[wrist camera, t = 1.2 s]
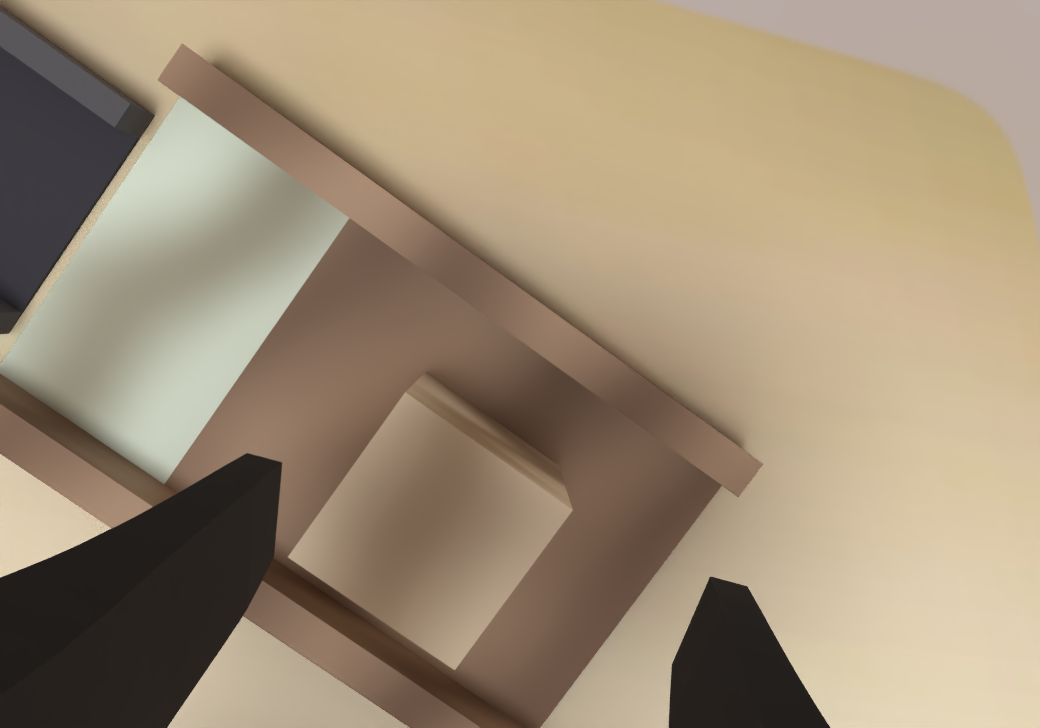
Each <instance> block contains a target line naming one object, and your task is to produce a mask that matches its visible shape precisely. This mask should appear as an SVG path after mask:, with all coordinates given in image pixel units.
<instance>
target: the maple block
mask: <svg viewBox="0 0 1040 728" xmlns="http://www.w3.org/2000/svg"><path fill="white" fill-rule="evenodd" d="M572 511H573V509H572V506H571V503H570V499H569V496H568V493H567V490H566V487H565V484H564V481H563V477H562V474H561V471H560V468H559V465H557V464H556V463H554V462H553V461H552V460H550V459H549V458H547V457H546V456H545V455H543V454H542V453H540V452H539V451H538V450H536V449H535V448H533V447H532V446H530V445H529V444H528V443H526V442H525V441H523V440H522V439H521V438H519V437H518V436H516V435H515V434H513V433H512V432H511V431H509V430H508V429H506V428H505V427H504V426H502V425H501V424H499V423H498V422H497V421H495V420H494V419H492V418H491V417H489V416H488V415H487V414H485V413H484V412H482V411H481V410H480V409H478V408H477V407H475V406H474V405H472V404H471V403H470V402H468V401H467V400H465V399H464V398H463V397H461V396H460V395H458V394H457V393H456V392H454V391H453V390H451V389H450V388H448V387H447V386H446V385H444V384H443V383H441V382H440V381H439V380H437V379H436V378H434V377H433V376H432V375H430V374H429V373H427V372H425V373H424V374H423V375H422V376H421V377H420V378H419V379H418V380H417V381H416V382H415V383H414V384H413V385H412V386H411V387H410V388H409V389H408V390H407V391H406V392H405V393H404V395H403V396H402V397H401V399H400V400H399V402H398V403H397V404H396V406H395V407H394V409H393V410H392V411H391V413H390V414H389V416H388V417H387V418H386V420H385V421H384V423H383V424H382V425H381V427H380V428H379V430H378V431H377V433H376V434H375V435H374V437H373V438H372V440H371V441H370V442H369V444H368V445H367V447H366V448H365V449H364V451H363V452H362V454H361V455H360V456H359V458H358V459H357V461H356V462H355V463H354V465H353V466H352V468H351V469H350V470H349V472H348V473H347V475H346V476H345V477H344V479H343V480H342V482H341V483H340V484H339V486H338V487H337V489H336V490H335V491H334V493H333V494H332V496H331V497H330V498H329V500H328V501H327V503H326V504H325V505H324V507H323V508H322V510H321V511H320V512H319V514H318V515H317V517H316V518H315V519H314V521H313V522H312V524H311V525H310V526H309V528H308V529H307V531H306V532H305V534H304V535H303V536H302V538H301V539H300V541H299V542H298V543H297V545H296V546H295V548H294V549H293V550H292V552H291V553H290V555H289V556H288V558H290V559H291V560H293V561H294V562H295V563H297V564H298V565H300V566H301V567H303V568H304V569H306V570H307V571H309V572H310V573H312V574H313V575H315V576H316V577H318V578H319V579H321V580H322V581H324V582H325V583H326V584H328V585H329V586H331V587H332V588H334V589H335V590H337V591H338V592H340V593H341V594H343V595H344V596H346V597H347V598H349V599H350V600H352V601H353V602H355V603H356V604H357V605H359V606H360V607H362V608H363V609H365V610H366V611H368V612H369V613H371V614H372V615H374V616H375V617H377V618H378V619H380V620H381V621H383V622H384V623H386V624H387V625H388V626H390V627H391V628H393V629H394V630H396V631H397V632H399V633H400V634H402V635H403V636H405V637H406V638H408V639H409V640H411V641H412V642H414V643H415V644H417V645H418V646H419V647H421V648H422V649H424V650H425V651H427V652H428V653H430V654H431V655H433V656H434V657H436V658H437V659H439V660H440V661H442V662H443V663H445V664H446V665H447V666H449V667H450V668H452V669H453V670H455V669H456V668H457V667H458V665H459V664H460V663H461V661H462V660H463V658H464V657H465V656H466V654H467V653H468V652H469V650H470V649H471V648H472V646H473V645H474V644H475V642H476V641H477V639H478V638H479V637H480V635H481V634H482V633H483V631H484V630H485V629H486V627H487V626H488V625H489V623H490V622H491V620H492V619H493V618H494V616H495V615H496V614H497V612H498V611H499V610H500V608H501V607H502V606H503V604H504V603H505V601H506V600H507V599H508V597H509V596H510V595H511V593H512V592H513V591H514V589H515V588H516V587H517V585H518V584H519V583H520V581H521V580H522V578H523V577H524V576H525V574H526V573H527V572H528V570H529V569H530V568H531V566H532V565H533V564H534V562H535V561H536V559H537V558H538V557H539V555H540V554H541V553H542V551H543V550H544V549H545V547H546V546H547V545H548V543H549V542H550V540H551V539H552V538H553V536H554V535H555V534H556V532H557V531H558V530H559V528H560V527H561V526H562V524H563V523H564V521H565V520H566V519H567V517H568V516H569V515H570V513H571V512H572Z"/></svg>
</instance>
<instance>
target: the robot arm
mask: <svg viewBox="0 0 1040 728" xmlns="http://www.w3.org/2000/svg"><path fill="white" fill-rule="evenodd" d="M281 473H282V462H279V461H276V460H272V459H268V458H264V457H261V456H257V455H253V454H249V453H246V454H244V455H243V456H241V457H239V458H237V459H235V460H234V461H232V462H230V463H228V464H226V465H225V466H223V467H221V468H220V469H218V470H216V471H214V472H213V473H211V474H209V475H208V476H206V477H204V478H203V479H201V480H199V481H197V482H196V483H194V484H192V485H191V486H189V487H187V488H185V489H184V490H182V491H180V492H179V493H177V494H175V495H173V496H171V497H170V498H168V499H166V500H164V501H162V502H161V503H159V504H157V505H155V506H153V507H152V508H150V509H148V510H146V511H144V512H143V513H141V514H139V515H137V516H135V517H134V518H132V519H130V520H128V521H126V522H124V523H122V524H120V525H118V526H116V527H114V528H112V529H110V530H108V531H106V532H104V533H102V534H100V535H98V536H96V537H94V538H92V539H90V540H88V541H86V542H84V543H82V544H80V545H78V546H75V547H73V548H71V549H69V550H67V551H64V552H62V553H60V554H57V555H55V556H53V557H51V558H48V559H46V560H43V561H41V562H38V563H36V564H34V565H31V566H29V567H26V568H24V569H21V570H19V571H16V572H14V573H11V574H9V575H6V576H3V577H1V578H0V728H167V727H168V725H169V724H170V722H171V721H172V719H173V718H174V717H175V715H176V714H177V712H178V711H179V709H180V708H181V706H182V705H183V703H184V702H185V700H186V699H187V697H188V696H189V695H190V693H191V692H192V690H193V689H194V687H195V686H196V684H197V683H198V681H199V680H200V678H201V677H202V676H203V674H204V673H205V671H206V670H207V668H208V667H209V665H210V664H211V662H212V661H213V659H214V658H215V657H216V655H217V654H218V652H219V651H220V649H221V648H222V646H223V645H224V643H225V642H226V640H227V639H228V637H229V636H230V634H231V633H232V631H233V630H234V628H235V627H236V625H237V624H238V623H239V621H240V619H241V618H242V616H243V615H244V613H245V612H246V610H247V609H248V607H249V605H250V603H251V601H252V599H253V597H254V595H255V593H256V592H257V590H258V588H259V586H260V584H261V582H262V580H263V578H264V576H265V574H266V572H267V570H268V568H269V566H270V564H271V562H272V560H273V558H274V552H275V541H276V529H277V518H278V507H279V496H280V484H281ZM669 728H830V726H829V725H828V724H827V722H826V720H825V719H824V717H823V716H822V714H821V713H820V711H819V709H818V708H817V706H816V705H815V703H814V702H813V700H812V698H811V697H810V695H809V693H808V692H807V690H806V688H805V687H804V685H803V683H802V682H801V680H800V679H799V677H798V675H797V674H796V672H795V670H794V668H793V667H792V665H791V663H790V662H789V660H788V658H787V656H786V655H785V653H784V651H783V649H782V647H781V646H780V644H779V642H778V640H777V639H776V637H775V635H774V633H773V631H772V630H771V628H770V626H769V624H768V622H767V621H766V619H765V617H764V615H763V613H762V612H761V610H760V608H759V606H758V605H757V603H756V601H755V599H754V597H753V596H752V594H751V592H750V590H749V589H748V587H747V586H744V585H740V584H736V583H732V582H729V581H725V580H721V579H718V578H714V577H710V578H709V581H708V583H707V585H706V588H705V590H704V592H703V594H702V597H701V599H700V601H699V604H698V606H697V608H696V611H695V613H694V615H693V617H692V620H691V622H690V624H689V627H688V629H687V631H686V633H685V636H684V638H683V640H682V643H681V645H680V647H679V650H678V652H677V654H676V656H675V659H674V661H673V663H672V673H671V690H670V710H669Z"/></svg>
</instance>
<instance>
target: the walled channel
mask: <svg viewBox="0 0 1040 728" xmlns="http://www.w3.org/2000/svg"><path fill="white" fill-rule="evenodd" d="M158 81H160V82H161V83H162V84H164V85H165V86H167V87H168V88H169V89H171V90H172V91H174V92H175V93H176V94H178V95H179V96H180V98H179V99H178V101H177V102H176V104H175V105H174V107H173V108H172V110H171V111H170V113H169V114H168V116H167V117H166V119H165V120H164V122H163V123H162V125H161V126H160V128H159V129H158V131H157V132H156V134H155V135H154V137H153V138H152V140H151V141H150V143H149V144H148V146H147V147H146V148H145V150H144V151H143V153H142V154H141V156H140V157H139V159H138V160H137V162H136V163H135V165H134V166H133V168H132V169H131V171H130V172H129V174H128V175H127V177H126V178H125V180H124V181H123V183H122V184H121V186H120V187H119V189H118V190H117V192H116V193H115V195H114V196H113V198H112V199H111V201H110V202H109V204H108V205H107V207H106V208H105V209H104V211H103V212H102V214H101V215H100V217H99V218H98V220H97V221H96V223H95V224H94V226H93V227H92V229H91V230H90V232H89V233H88V235H87V236H86V238H85V239H84V241H83V242H82V244H81V245H80V247H79V248H78V250H77V251H76V253H75V254H74V256H73V257H72V259H71V260H70V262H69V263H68V265H67V266H66V268H65V269H64V270H63V272H62V273H61V275H60V276H59V278H58V279H57V281H56V282H55V284H54V285H53V287H52V288H51V290H50V291H49V293H48V294H47V296H46V297H45V299H44V300H43V302H42V303H41V305H40V306H39V308H38V309H37V311H36V312H35V314H34V315H33V317H32V318H31V320H30V321H29V323H28V324H27V326H26V327H25V329H24V330H23V331H22V333H21V334H20V336H19V337H18V339H17V340H16V342H15V343H14V345H13V346H12V348H11V349H10V351H9V352H8V354H7V355H6V357H5V358H4V360H3V361H2V363H1V364H0V454H2V455H3V456H5V457H6V458H8V459H9V460H11V461H12V462H14V463H15V464H16V465H18V466H19V467H21V468H22V469H24V470H25V471H27V472H28V473H30V474H31V475H33V476H34V477H36V478H37V479H39V480H40V481H42V482H43V483H45V484H46V485H48V486H49V487H51V488H52V489H54V490H55V491H57V492H58V493H60V494H61V495H63V496H64V497H66V498H67V499H69V500H70V501H72V502H73V503H75V504H76V505H78V506H79V507H81V508H82V509H84V510H85V511H87V512H88V513H90V514H91V515H93V516H94V517H96V518H97V519H99V520H100V521H102V522H103V523H105V524H106V525H108V526H109V527H111V528H114V527H116V526H118V525H120V524H122V523H124V522H126V521H128V520H130V519H132V518H134V517H135V516H137V515H139V514H141V513H143V512H144V511H146V510H148V509H150V508H152V507H153V506H155V505H157V504H159V503H161V502H162V501H164V500H166V499H168V498H170V497H171V496H173V495H175V494H177V493H179V492H180V491H182V490H184V489H185V488H187V487H189V486H191V485H192V484H194V483H196V482H197V481H199V480H201V479H203V478H204V477H206V476H208V475H209V474H211V473H213V472H214V471H216V470H218V469H220V468H221V467H223V466H225V465H226V464H228V463H230V462H232V461H234V460H235V459H237V458H239V457H241V456H243V455H244V454H246V453H249V454H253V455H257V456H261V457H264V458H268V459H272V460H276V461H279V462H282V473H281V484H280V496H279V507H278V518H277V529H276V541H275V552H274V558H273V560H272V562H271V564H270V566H269V568H268V570H267V572H266V574H265V576H264V578H263V580H262V582H261V584H260V586H259V588H258V590H257V592H256V593H255V595H254V597H253V599H252V601H251V603H250V605H249V607H248V609H247V610H246V612H245V613H244V615H243V616H244V617H245V618H247V619H248V620H250V621H251V622H253V623H254V624H256V625H257V626H259V627H260V628H262V629H263V630H265V631H266V632H268V633H269V634H271V635H272V636H274V637H275V638H277V639H278V640H280V641H281V642H283V643H284V644H286V645H287V646H289V647H290V648H292V649H293V650H295V651H296V652H298V653H299V654H301V655H302V656H304V657H305V658H307V659H308V660H310V661H311V662H313V663H314V664H316V665H317V666H319V667H320V668H322V669H323V670H325V671H326V672H328V673H329V674H331V675H332V676H334V677H335V678H337V679H338V680H340V681H341V682H343V683H344V684H346V685H347V686H349V687H350V688H352V689H353V690H355V691H356V692H358V693H359V694H361V695H362V696H364V697H365V698H367V699H368V700H370V701H371V702H373V703H374V704H376V705H377V706H379V707H380V708H382V709H383V710H385V711H386V712H388V713H389V714H391V715H392V716H394V717H395V718H397V719H398V720H400V721H401V722H403V723H404V724H406V725H407V726H409V727H410V728H540V727H541V726H542V724H543V723H544V722H545V720H546V719H547V718H548V716H549V715H550V714H551V712H552V711H553V710H554V708H555V707H556V706H557V704H558V703H559V702H560V700H561V699H562V698H563V696H564V695H565V694H566V692H567V691H568V690H569V688H570V687H571V686H572V684H573V683H574V682H575V680H576V679H577V678H578V676H579V675H580V674H581V672H582V671H583V670H584V668H585V667H586V666H587V664H588V663H589V662H590V660H591V659H592V658H593V656H594V655H595V654H596V652H597V651H598V650H599V648H600V647H601V646H602V644H603V643H604V642H605V640H606V639H607V638H608V636H609V635H610V634H611V632H612V631H613V630H614V628H615V627H616V626H617V624H618V623H619V622H620V620H621V619H622V618H623V616H624V615H625V614H626V612H627V611H628V610H629V608H630V607H631V606H632V604H633V603H634V602H635V600H636V599H637V598H638V596H639V595H640V594H641V592H642V591H643V590H644V588H645V587H646V586H647V584H648V583H649V582H650V580H651V579H652V578H653V576H654V575H655V574H656V572H657V571H658V570H659V568H660V567H661V566H662V564H663V563H664V562H665V560H666V559H667V558H668V556H669V555H670V554H671V552H672V551H673V550H674V548H675V547H676V546H677V544H678V543H679V542H680V540H681V539H682V538H683V536H684V535H685V534H686V532H687V531H688V530H689V528H690V527H691V526H692V524H693V523H694V522H695V520H696V519H697V518H698V516H699V515H700V514H701V512H702V511H703V510H704V508H705V507H706V506H707V504H708V503H709V502H710V500H711V499H712V498H713V496H714V495H715V494H716V492H717V491H718V490H719V488H720V487H721V486H724V487H725V488H726V489H728V490H729V491H730V492H732V493H733V494H735V495H736V496H737V497H739V496H740V494H741V493H742V492H743V490H744V489H745V488H746V486H747V485H748V484H749V482H750V481H751V480H752V478H753V477H754V476H755V474H756V473H757V472H758V470H759V469H760V468H761V466H762V465H763V463H761V462H760V461H758V460H757V459H756V458H754V457H753V456H751V455H750V454H749V453H747V452H746V451H745V450H743V449H742V448H740V447H739V446H738V445H736V444H735V443H734V442H732V441H731V440H729V439H728V438H727V437H725V436H724V435H722V434H721V433H720V432H718V431H717V430H716V429H714V428H713V427H711V426H710V425H709V424H707V423H706V422H705V421H703V420H702V419H700V418H699V417H698V416H696V415H695V414H693V413H692V412H691V411H689V410H688V409H687V408H685V407H684V406H682V405H681V404H680V403H678V402H677V401H676V400H674V399H673V398H671V397H670V396H669V395H667V394H666V393H664V392H663V391H662V390H660V389H659V388H658V387H656V386H655V385H653V384H652V383H651V382H649V381H648V380H647V379H645V378H644V377H642V376H641V375H640V374H638V373H637V372H635V371H634V370H633V369H631V368H630V367H629V366H627V365H626V364H624V363H623V362H622V361H620V360H619V359H617V358H616V357H615V356H613V355H612V354H611V353H609V352H608V351H606V350H605V349H604V348H602V347H601V346H600V345H598V344H597V343H595V342H594V341H593V340H591V339H590V338H588V337H587V336H586V335H584V334H583V333H582V332H580V331H579V330H577V329H576V328H575V327H573V326H572V325H571V324H569V323H568V322H566V321H565V320H564V319H562V318H561V317H559V316H558V315H557V314H555V313H554V312H553V311H551V310H550V309H548V308H547V307H546V306H544V305H543V304H542V303H540V302H539V301H537V300H536V299H535V298H533V297H532V296H530V295H529V294H528V293H526V292H525V291H524V290H522V289H521V288H519V287H518V286H517V285H515V284H514V283H512V282H511V281H510V280H508V279H507V278H506V277H504V276H503V275H501V274H500V273H499V272H497V271H496V270H495V269H493V268H492V267H490V266H489V265H488V264H486V263H485V262H483V261H482V260H481V259H479V258H478V257H477V256H475V255H474V254H472V253H471V252H470V251H468V250H467V249H466V248H464V247H463V246H461V245H460V244H459V243H457V242H456V241H454V240H453V239H452V238H450V237H449V236H448V235H446V234H445V233H443V232H442V231H441V230H439V229H438V228H437V227H435V226H434V225H432V224H431V223H430V222H428V221H427V220H425V219H424V218H423V217H421V216H420V215H419V214H417V213H416V212H414V211H413V210H412V209H410V208H409V207H408V206H406V205H405V204H403V203H402V202H401V201H399V200H398V199H396V198H395V197H394V196H392V195H391V194H390V193H388V192H387V191H385V190H384V189H383V188H381V187H380V186H378V185H377V184H376V183H374V182H373V181H372V180H370V179H369V178H367V177H366V176H365V175H363V174H362V173H361V172H359V171H358V170H356V169H355V168H354V167H352V166H351V165H349V164H348V163H347V162H345V161H344V160H343V159H341V158H340V157H338V156H337V155H336V154H334V153H333V152H332V151H330V150H329V149H327V148H326V147H325V146H323V145H322V144H320V143H319V142H318V141H316V140H315V139H314V138H312V137H311V136H309V135H308V134H307V133H305V132H304V131H303V130H301V129H300V128H298V127H297V126H296V125H294V124H293V123H291V122H290V121H289V120H287V119H286V118H285V117H283V116H282V115H280V114H279V113H278V112H276V111H275V110H273V109H272V108H271V107H269V106H268V105H267V104H265V103H264V102H262V101H261V100H260V99H258V98H257V97H256V96H254V95H253V94H251V93H250V92H249V91H247V90H246V89H244V88H243V87H242V86H240V85H239V84H238V83H236V82H235V81H233V80H232V79H231V78H229V77H228V76H227V75H225V74H224V73H222V72H221V71H220V70H218V69H217V68H215V67H214V66H213V65H211V64H210V63H209V62H207V61H206V60H204V59H203V58H202V57H200V56H199V55H198V54H196V53H195V52H193V51H192V50H191V49H189V48H188V47H186V46H185V45H184V44H181V46H180V47H179V49H178V50H177V52H176V53H175V55H174V56H173V58H172V59H171V61H170V62H169V64H168V65H167V66H166V68H165V69H164V71H163V72H162V74H161V75H160V77H159V78H158ZM425 372H427V373H429V374H430V375H432V376H433V377H434V378H436V379H437V380H439V381H440V382H441V383H443V384H444V385H446V386H447V387H448V388H450V389H451V390H453V391H454V392H456V393H457V394H458V395H460V396H461V397H463V398H464V399H465V400H467V401H468V402H470V403H471V404H472V405H474V406H475V407H477V408H478V409H480V410H481V411H482V412H484V413H485V414H487V415H488V416H489V417H491V418H492V419H494V420H495V421H497V422H498V423H499V424H501V425H502V426H504V427H505V428H506V429H508V430H509V431H511V432H512V433H513V434H515V435H516V436H518V437H519V438H521V439H522V440H523V441H525V442H526V443H528V444H529V445H530V446H532V447H533V448H535V449H536V450H538V451H539V452H540V453H542V454H543V455H545V456H546V457H547V458H549V459H550V460H552V461H553V462H554V463H556V464H557V465H559V468H560V471H561V474H562V477H563V481H564V484H565V487H566V490H567V493H568V496H569V499H570V503H571V506H572V509H573V511H572V512H571V513H570V515H569V516H568V517H567V519H566V520H565V521H564V523H563V524H562V526H561V527H560V528H559V530H558V531H557V532H556V534H555V535H554V536H553V538H552V539H551V540H550V542H549V543H548V545H547V546H546V547H545V549H544V550H543V551H542V553H541V554H540V555H539V557H538V558H537V559H536V561H535V562H534V564H533V565H532V566H531V568H530V569H529V570H528V572H527V573H526V574H525V576H524V577H523V578H522V580H521V581H520V583H519V584H518V585H517V587H516V588H515V589H514V591H513V592H512V593H511V595H510V596H509V597H508V599H507V600H506V601H505V603H504V604H503V606H502V607H501V608H500V610H499V611H498V612H497V614H496V615H495V616H494V618H493V619H492V620H491V622H490V623H489V625H488V626H487V627H486V629H485V630H484V631H483V633H482V634H481V635H480V637H479V638H478V639H477V641H476V642H475V644H474V645H473V646H472V648H471V649H470V650H469V652H468V653H467V654H466V656H465V657H464V658H463V660H462V661H461V663H460V664H459V665H458V667H457V668H456V669H455V670H453V669H452V668H450V667H449V666H447V665H446V664H445V663H443V662H442V661H440V660H439V659H437V658H436V657H434V656H433V655H431V654H430V653H428V652H427V651H425V650H424V649H422V648H421V647H419V646H418V645H417V644H415V643H414V642H412V641H411V640H409V639H408V638H406V637H405V636H403V635H402V634H400V633H399V632H397V631H396V630H394V629H393V628H391V627H390V626H388V625H387V624H386V623H384V622H383V621H381V620H380V619H378V618H377V617H375V616H374V615H372V614H371V613H369V612H368V611H366V610H365V609H363V608H362V607H360V606H359V605H357V604H356V603H355V602H353V601H352V600H350V599H349V598H347V597H346V596H344V595H343V594H341V593H340V592H338V591H337V590H335V589H334V588H332V587H331V586H329V585H328V584H326V583H325V582H324V581H322V580H321V579H319V578H318V577H316V576H315V575H313V574H312V573H310V572H309V571H307V570H306V569H304V568H303V567H301V566H300V565H298V564H297V563H295V562H294V561H293V560H291V559H290V558H288V556H289V555H290V553H291V552H292V550H293V549H294V548H295V546H296V545H297V543H298V542H299V541H300V539H301V538H302V536H303V535H304V534H305V532H306V531H307V529H308V528H309V526H310V525H311V524H312V522H313V521H314V519H315V518H316V517H317V515H318V514H319V512H320V511H321V510H322V508H323V507H324V505H325V504H326V503H327V501H328V500H329V498H330V497H331V496H332V494H333V493H334V491H335V490H336V489H337V487H338V486H339V484H340V483H341V482H342V480H343V479H344V477H345V476H346V475H347V473H348V472H349V470H350V469H351V468H352V466H353V465H354V463H355V462H356V461H357V459H358V458H359V456H360V455H361V454H362V452H363V451H364V449H365V448H366V447H367V445H368V444H369V442H370V441H371V440H372V438H373V437H374V435H375V434H376V433H377V431H378V430H379V428H380V427H381V425H382V424H383V423H384V421H385V420H386V418H387V417H388V416H389V414H390V413H391V411H392V410H393V409H394V407H395V406H396V404H397V403H398V402H399V400H400V399H401V397H402V396H403V395H404V393H405V392H406V391H407V390H408V389H409V388H410V387H411V386H412V385H413V384H414V383H415V382H416V381H417V380H418V379H419V378H420V377H421V376H422V375H423V374H424V373H425Z"/></svg>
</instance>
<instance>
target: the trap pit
mask: <svg viewBox="0 0 1040 728" xmlns="http://www.w3.org/2000/svg"><path fill="white" fill-rule="evenodd" d="M153 117H154V115H152V114H151V113H149V112H148V111H147V110H145V109H144V108H142V107H141V106H140V105H138V104H137V103H135V102H134V101H133V100H131V99H130V98H128V97H127V96H126V95H124V94H123V93H121V92H120V91H119V90H117V89H116V88H114V87H113V86H112V85H110V84H109V83H107V82H106V81H105V80H103V79H102V78H100V77H99V76H98V75H96V74H95V73H93V72H92V71H91V70H89V69H88V68H86V67H85V66H84V65H82V64H81V63H79V62H78V61H77V60H75V59H74V58H72V57H71V56H70V55H68V54H67V53H65V52H64V51H63V50H61V49H60V48H58V47H57V46H56V45H54V44H53V43H51V42H50V41H49V40H47V39H46V38H44V37H43V36H42V35H40V34H39V33H37V32H36V31H35V30H33V29H32V28H30V27H29V26H28V25H26V24H25V23H23V22H22V21H21V20H19V19H18V18H16V17H15V16H14V15H12V14H11V13H9V12H8V11H7V10H5V9H4V8H2V7H1V6H0V334H7V333H9V332H10V330H11V329H12V327H13V326H14V324H15V323H16V321H17V320H18V318H19V317H20V315H21V314H22V312H23V311H24V309H25V308H26V306H27V305H28V303H29V302H30V300H31V299H32V297H33V296H34V294H35V293H36V291H37V290H38V288H39V287H40V286H41V284H42V283H43V281H44V280H45V278H46V277H47V275H48V274H49V272H50V271H51V269H52V268H53V266H54V265H55V263H56V262H57V260H58V259H59V257H60V256H61V254H62V253H63V251H64V250H65V248H66V247H67V245H68V244H69V242H70V241H71V239H72V238H73V236H74V235H75V233H76V232H77V230H78V229H79V227H80V226H81V224H82V223H83V221H84V220H85V218H86V217H87V215H88V214H89V212H90V211H91V210H92V208H93V207H94V205H95V204H96V202H97V201H98V199H99V198H100V196H101V195H102V193H103V192H104V190H105V189H106V187H107V186H108V184H109V183H110V181H111V180H112V178H113V177H114V175H115V174H116V172H117V171H118V169H119V168H120V166H121V165H122V163H123V162H124V160H125V159H126V157H127V156H128V154H129V153H130V151H131V150H132V148H133V147H134V145H135V144H136V142H137V141H138V139H139V138H140V136H141V135H142V133H143V132H144V131H145V129H146V128H147V126H148V125H149V123H150V122H151V120H152V119H153Z"/></svg>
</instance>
